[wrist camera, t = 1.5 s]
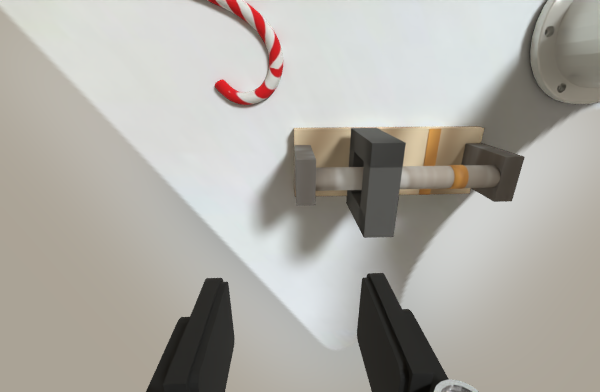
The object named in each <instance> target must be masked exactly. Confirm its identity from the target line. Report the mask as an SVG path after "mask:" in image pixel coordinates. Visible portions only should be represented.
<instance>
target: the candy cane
mask: <svg viewBox="0 0 600 392" xmlns="http://www.w3.org/2000/svg"><path fill="white" fill-rule="evenodd" d="M207 1H209V2H212V3H214V4H216V5H218V6H220V7H222V8H225V9H227V10H229V11H230V12H232V13H234V14H236V15H237V16H239V17H240V18H242V19H243V20H245V21H246V22H247V23H249V24H250V25H251V26H252V27H253V28H254V29H255V30H256V31H257V32H258V34H259V35H260V36H261V38H262V39H263V41H264V43H265V45H266V47H267V50H268V54H269V70H268V74H267V77H266V79H265V81H264V82H263V84H262V85H261V86H260V87H259V88H257V89H255V90H253V91H250V92H238V91H236V90H234V89H233V88H232V87H230V86H229V85H228V84H227V83H226V82H225V81H224V80H220V81H218V82H217V83H216V84H215V87H216V89H217V90H218V91H219V92H220V93H221V94H222V95H223V96H224V97H226V98H227V99H229V100H230V101H232V102H235V103H238V104H244V105H249V104H255V103H258V102H261V101H263V100H265V99H267V98H268V97H269V96H270V95H271V94H272V93H273V92H274V90H275V89H276V87H277V86H278V84H279V81H280V78H281V75H282V70H283V55H282V49H281V46H280V43H279V40H278V38H277V36H276V34H275V32H274V30H273V29H272V27H271V26H270V25H269V23H268V22H267V21H266V20H265V19H264V17H263V16H262V15H261V14H260V13H259V12H257V11H256V10H255V9H254V8H253V7H252V6H250V5H249V4H248V3H246V2H245V1H243V0H207Z"/></svg>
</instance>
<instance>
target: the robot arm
mask: <svg viewBox="0 0 600 392" xmlns="http://www.w3.org/2000/svg"><path fill="white" fill-rule="evenodd" d="M530 55H531V67H532V71H533V75H534V77H535V79H536V81H537V83H538V85H539V87H540V88H541V89H542V90H543V91H544V92H545V93H546V94H547V95H548V96H550V97H551V98H553V99H555V100H557V101H560V102H563V103H570V104H592V103H597V102H600V0H548V1H547V2H546V4H545V5H544V7H543V9H542V11H541V14H540V16H539V18H538V20H537V22H536V26H535V29H534V32H533V36H532V42H531V50H530ZM357 338H358V343H359V347H360V350H361V354H362V357H363V361H364V365H365V368H366V372H367V376H368V379H369V383H370V386H371V390H372V392H478V391H477V390H476V389H475V388H474V387H472V386H470V385H468V384H466V383H464V382H460V381H458V380H449V379H448V377H447V375H446V374H445V372H444V370H443V368H442V366H441V365H440V363H439V361H438V359H437V357H436V355H435V353H434V352H433V350H432V348H431V346H430V345H429V343H428V341H427V339H426V337H425V335H424V333H423V332H422V330H421V328H420V326H419V324H418V322H417V321H416V319H415V317H414V315H413V313H412V312H411V311H410V310H409V309H403V310H402V308H401V306H400V304H399V302H398V300H397V299H396V297H395V295H394V293H393V291H392V289H391V287H390V285H389V283H388V281H387V279H386V277H385V275H384V274H383V273H373V274H368V275H367V278H363V279H362V285H361V296H360V307H359V318H358V328H357ZM233 348H234V330H233V321H232V313H231V303H230V295H229V286H228V282H223V279H222V278H207V279H206V280H205V282H204V284H203V287H202V289H201V292H200V294H199V297H198V299H197V301H196V304H195V306H194V309H193V312H192V314H191V316H190V317H181V318H180V319H179V320H178V322H177V324H176V327H175V329H174V331H173V333H172V335H171V338H170V340H169V342H168V344H167V346H166V349H165V351H164V353H163V355H162V358H161V360H160V362H159V364H158V366H157V369H156V371H155V373H154V375H153V378H152V380H151V382H150V384H149V386H148V389H147V391H146V392H225V389H226V383H227V378H228V373H229V368H230V362H231V358H232V353H233Z"/></svg>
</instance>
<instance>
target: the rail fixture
mask: <svg viewBox="0 0 600 392" xmlns="http://www.w3.org/2000/svg"><path fill="white" fill-rule="evenodd" d="M351 128H378V129H380V130H382V131H384V132H386V133H388V134H390V135H392V136H393V137H395V138H397V139H399V140H401V141H403V142H405V143H406V145H405V153H404V160H403V168H402V175H401V183H400V190H399V195H414V194H419V195H427V194H468V193H470V189H471V188H472V189H473V190H475V191H477V192H478V193H480V194H482V195H484V196H486V197H487V198H489V199H491V200H492V201H512V198H513V195H514V192H515V188H516V185H517V181H518V178H519V174H520V171H521V167H522V164H523V160H524V157H523V156H520V155H517V154H514V153H511V152H508V151H505V150H501V149H498V148H495V147H492V146H489V145H486V144H482V143H481V141H482V136H483V132H484V128H482V127H478V126H462V127H345V128H294V188H295V197H296V204H297V205H315V196H347V190H362V180H363V168H364V167H349V154H350V138H351Z"/></svg>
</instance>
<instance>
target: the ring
mask: <svg viewBox="0 0 600 392" xmlns="http://www.w3.org/2000/svg"><path fill="white" fill-rule="evenodd" d="M405 145H406V143H405V142H403V141H401V140H399V139H397V138H395V137H393V136H392V135H390V134H388V133H386V132H384V131H382V130H380V129H378V128H351V138H350V154H349V167H364V168H363V180H362V190H347V202H346V203H347V205H348V207H349V209H350V211H351V213H352V215H353V217H354V219H355V221H356V223H357V225H358V227H359V229H360V231H361V233H362V235H363V237H364V238H366V237H393V236H394V228H395V221H396V213H397V206H398V198H399V190H400V183H401V175H402V168H403V160H404V153H405Z"/></svg>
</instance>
